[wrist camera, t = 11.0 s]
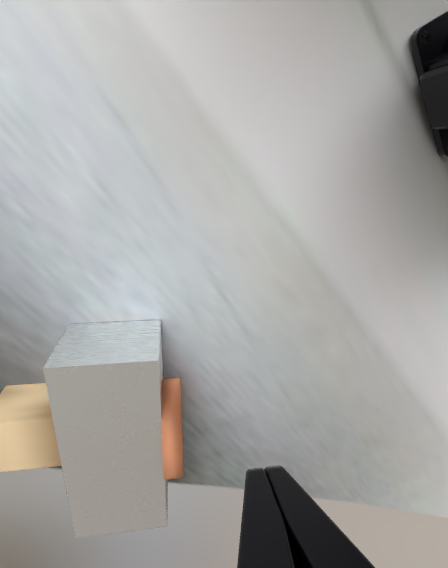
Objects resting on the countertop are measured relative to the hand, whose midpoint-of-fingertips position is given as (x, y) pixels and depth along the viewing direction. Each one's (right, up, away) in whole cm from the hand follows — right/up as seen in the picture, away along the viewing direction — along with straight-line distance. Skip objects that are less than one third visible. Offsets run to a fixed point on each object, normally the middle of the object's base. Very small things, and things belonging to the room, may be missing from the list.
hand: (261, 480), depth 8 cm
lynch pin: (-9, -3, +13) cm, 16 cm away
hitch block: (-7, -3, +13) cm, 15 cm away
